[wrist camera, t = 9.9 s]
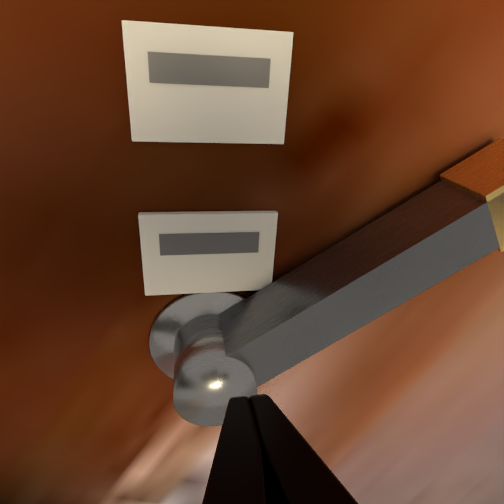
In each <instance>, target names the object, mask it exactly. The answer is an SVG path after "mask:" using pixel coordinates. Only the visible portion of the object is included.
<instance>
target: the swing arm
mask: <svg viewBox="0 0 504 504" xmlns="http://www.w3.org/2000/svg"><path fill="white" fill-rule="evenodd" d="M440 178H441V181H439V182H438V183H436V184H434V185H433V186H431V187H429V188H428V189H426V190H424V191H423V192H421V193H419V194H418V195H416V196H415V197H413V198H411V199H410V200H408V201H406V202H405V203H403V204H401V205H400V206H398V207H396V208H395V209H393V210H391V211H390V212H388V213H386V214H385V215H383V216H382V217H380V218H378V219H377V220H375V221H373V222H372V223H370V224H368V225H367V226H365V227H363V228H362V229H360V230H358V231H357V232H355V233H353V234H352V235H350V236H349V237H347V238H345V239H344V240H342V241H340V242H339V243H337V244H335V245H334V246H332V247H330V248H329V249H327V250H325V251H324V252H322V253H320V254H319V255H317V256H316V257H314V258H312V259H311V260H309V261H307V262H306V263H304V264H302V265H301V266H299V267H297V268H296V269H294V270H292V271H291V272H289V273H287V274H286V275H284V276H283V277H281V278H279V279H278V280H276V281H274V282H273V283H271V284H269V285H268V286H266V287H264V288H263V289H261V290H259V291H258V292H256V293H254V294H253V295H251V296H250V297H248V298H246V299H245V300H243V301H241V302H240V303H238V304H236V305H235V306H233V307H231V308H230V309H228V310H226V311H225V312H223V313H221V314H220V315H215V314H210V315H203V316H199V317H196V318H194V319H192V320H190V321H188V322H187V323H186V324H184V325H183V326H182V327H181V328H180V330H179V331H178V333H177V335H176V337H175V340H174V381H173V403H174V407H175V409H176V411H177V413H178V414H179V415H180V416H181V417H182V418H183V419H185V420H186V421H188V422H190V423H193V424H196V425H201V426H219V425H223V421H224V417H225V413H226V409H227V405H228V402H229V399H230V398H231V397H237V396H247V397H248V398H249V397H250V396H251V395H257V387H258V386H260V385H261V384H263V383H265V382H267V381H268V380H270V379H272V378H274V377H275V376H277V375H279V374H281V373H282V372H284V371H286V370H288V369H289V368H291V367H293V366H294V365H296V364H298V363H300V362H301V361H303V360H305V359H307V358H308V357H310V356H312V355H314V354H315V353H317V352H319V351H321V350H322V349H324V348H326V347H327V346H329V345H331V344H333V343H334V342H336V341H338V340H340V339H341V338H343V337H345V336H347V335H348V334H350V333H352V332H354V331H355V330H357V329H359V328H360V327H362V326H364V325H366V324H367V323H369V322H371V321H373V320H374V319H376V318H378V317H380V316H381V315H383V314H385V313H387V312H388V311H390V310H392V309H393V308H395V307H397V306H399V305H400V304H402V303H404V302H406V301H407V300H409V299H411V298H413V297H414V296H416V295H418V294H420V293H421V292H423V291H425V290H426V289H428V288H430V287H432V286H433V285H435V284H437V283H439V282H440V281H442V280H444V279H446V278H447V277H449V276H451V275H453V274H454V273H456V272H458V271H459V270H461V269H463V268H465V267H466V266H468V265H470V264H472V263H473V262H475V261H477V260H479V259H480V258H482V257H484V256H486V255H487V254H489V253H491V252H492V251H494V250H496V249H497V250H498V251H500V252H503V251H504V139H500V138H499V139H498V140H496V141H494V142H493V143H491V144H490V145H488V146H486V147H485V148H483V149H481V150H480V151H478V152H476V153H475V154H473V155H471V156H470V157H468V158H466V159H465V160H463V161H462V162H460V163H458V164H457V165H455V166H453V167H452V168H450V169H448V170H447V171H445V172H443V173H442V174H440Z"/></svg>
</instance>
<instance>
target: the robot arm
mask: <svg viewBox="0 0 504 504" xmlns="http://www.w3.org/2000/svg"><path fill="white" fill-rule="evenodd" d="M202 504H358V503H357V502H356V500H355V499H354V498H353V497H352V496H351V494H350V493H349V492H348V491H347V489H346V488H345V487H344V486H343V485H342V483H341V482H340V481H339V480H338V479H337V477H336V476H335V475H334V474H333V473H332V471H331V470H330V469H329V468H328V467H327V465H326V464H325V463H324V462H323V461H322V459H321V458H320V457H319V456H318V455H317V453H316V452H315V451H314V450H313V449H312V447H311V446H310V445H309V444H308V443H307V441H306V440H305V439H304V438H303V437H302V435H301V434H300V433H299V432H298V430H297V429H296V428H295V427H294V426H293V424H292V423H291V422H290V421H289V420H288V418H287V417H286V416H285V415H284V414H283V412H282V411H281V410H280V409H279V408H278V406H277V405H276V404H275V403H274V402H273V400H272V399H271V398H270V397H269V396H268V395H266V394H261V395H251V396H250V397H249V398H248V397H247V396H237V397H231V398H230V399H229V402H228V405H227V409H226V413H225V417H224V421H223V425H222V429H221V432H220V436H219V440H218V444H217V448H216V452H215V456H214V460H213V464H212V467H211V471H210V475H209V479H208V483H207V487H206V491H205V495H204V499H203V502H202Z"/></svg>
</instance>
